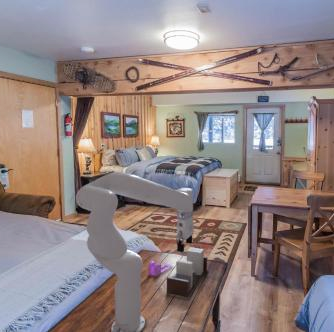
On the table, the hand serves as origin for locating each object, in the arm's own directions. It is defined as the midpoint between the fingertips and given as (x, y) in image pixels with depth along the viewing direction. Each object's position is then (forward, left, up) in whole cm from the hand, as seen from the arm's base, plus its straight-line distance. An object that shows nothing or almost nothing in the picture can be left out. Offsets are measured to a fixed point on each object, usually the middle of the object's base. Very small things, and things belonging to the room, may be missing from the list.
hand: (185, 247), depth 133 cm
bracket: (+11, +19, -22) cm, 31 cm away
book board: (+5, 0, -22) cm, 22 cm away
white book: (0, 0, -21) cm, 21 cm away
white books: (+14, 0, -21) cm, 25 cm away
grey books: (-2, 0, -21) cm, 21 cm away
